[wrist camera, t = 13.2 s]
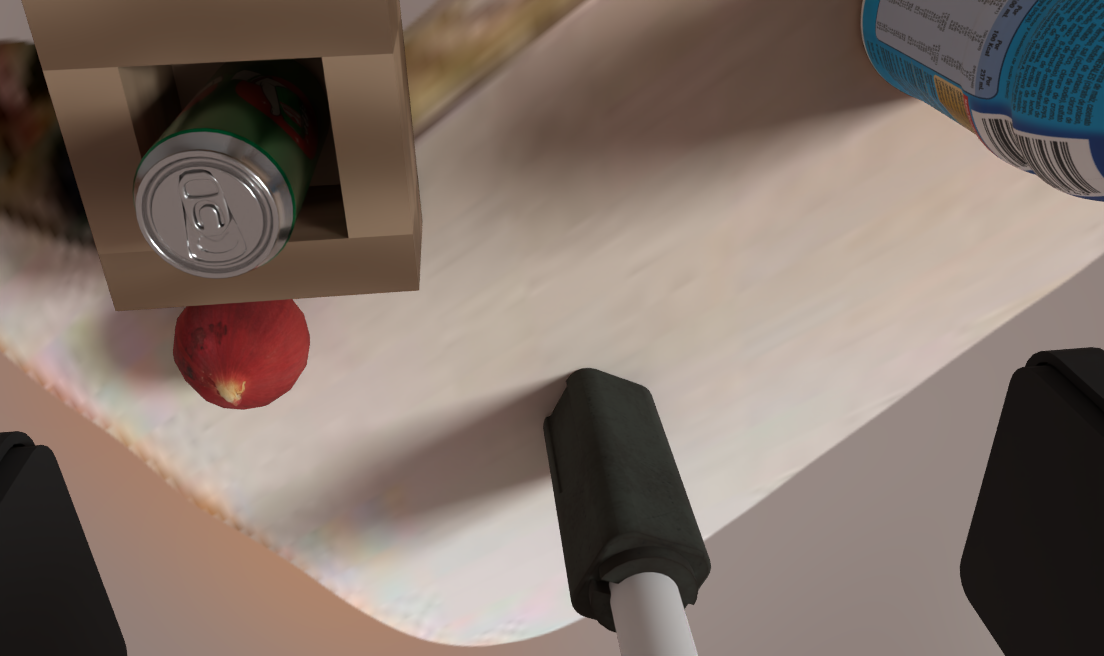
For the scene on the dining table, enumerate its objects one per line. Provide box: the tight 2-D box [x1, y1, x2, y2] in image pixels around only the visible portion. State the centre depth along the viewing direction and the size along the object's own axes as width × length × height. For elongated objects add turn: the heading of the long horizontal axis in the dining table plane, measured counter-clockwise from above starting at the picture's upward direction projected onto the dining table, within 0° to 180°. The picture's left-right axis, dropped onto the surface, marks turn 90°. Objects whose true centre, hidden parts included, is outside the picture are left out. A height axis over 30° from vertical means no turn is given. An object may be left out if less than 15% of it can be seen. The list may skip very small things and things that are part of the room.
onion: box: [173, 299, 310, 409], centre depth 41 cm, size 6×6×8 cm
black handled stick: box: [543, 368, 711, 656], centre depth 39 cm, size 5×5×25 cm
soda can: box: [132, 59, 330, 279], centre depth 34 cm, size 5×5×12 cm
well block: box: [22, 0, 422, 311], centre depth 37 cm, size 12×12×7 cm
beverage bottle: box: [861, 0, 1104, 202], centre depth 32 cm, size 8×8×20 cm
